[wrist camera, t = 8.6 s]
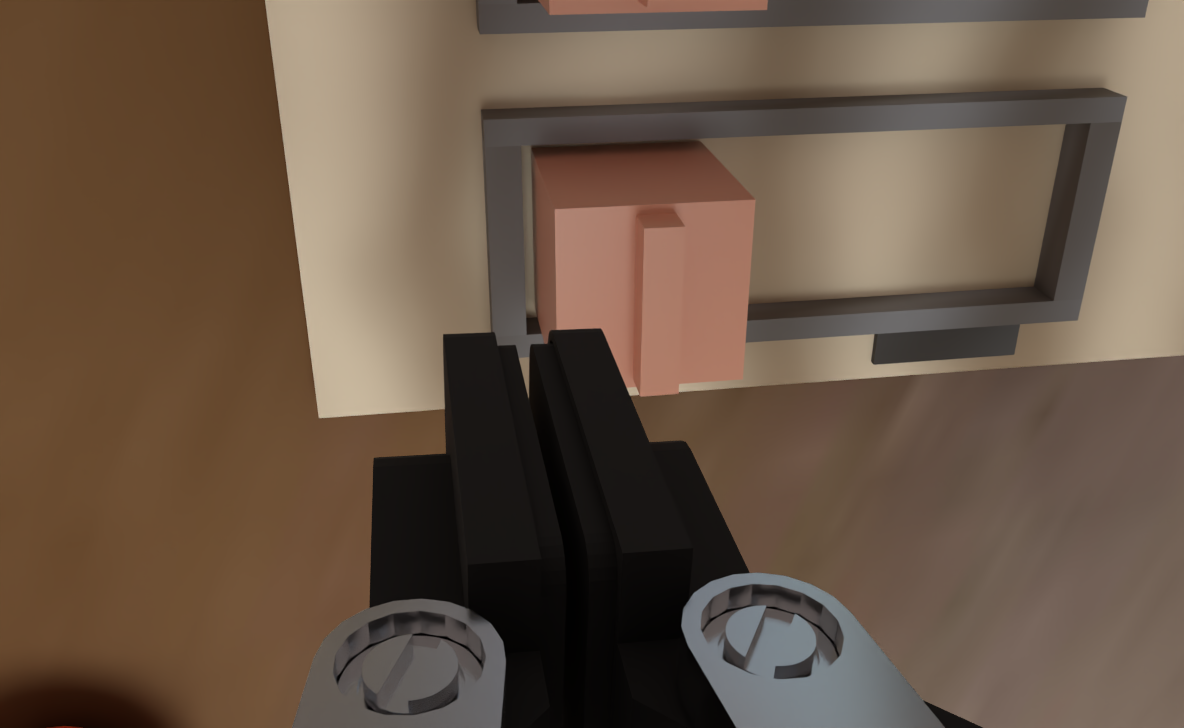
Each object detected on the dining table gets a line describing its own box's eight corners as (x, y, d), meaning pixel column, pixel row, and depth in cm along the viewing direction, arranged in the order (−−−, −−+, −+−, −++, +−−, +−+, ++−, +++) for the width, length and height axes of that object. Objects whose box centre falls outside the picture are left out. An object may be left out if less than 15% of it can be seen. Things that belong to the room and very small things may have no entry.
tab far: (700, 141, 25) (767, 212, 21) (693, 298, 27) (753, 396, 22) (530, 148, 25) (560, 222, 20) (534, 307, 26) (562, 410, 22)
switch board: (1346, -360, 24) (1429, -377, 22) (1163, 336, 31) (1213, 370, 29) (222, -391, 20) (204, -414, 19) (322, 396, 28) (316, 438, 26)
